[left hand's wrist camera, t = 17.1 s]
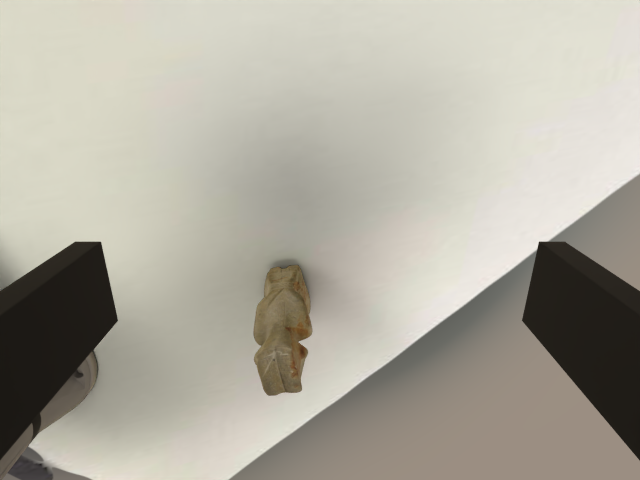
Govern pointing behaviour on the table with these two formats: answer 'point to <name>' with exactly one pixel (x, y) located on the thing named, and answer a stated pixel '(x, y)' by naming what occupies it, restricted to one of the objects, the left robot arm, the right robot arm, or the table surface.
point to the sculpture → (282, 330)
